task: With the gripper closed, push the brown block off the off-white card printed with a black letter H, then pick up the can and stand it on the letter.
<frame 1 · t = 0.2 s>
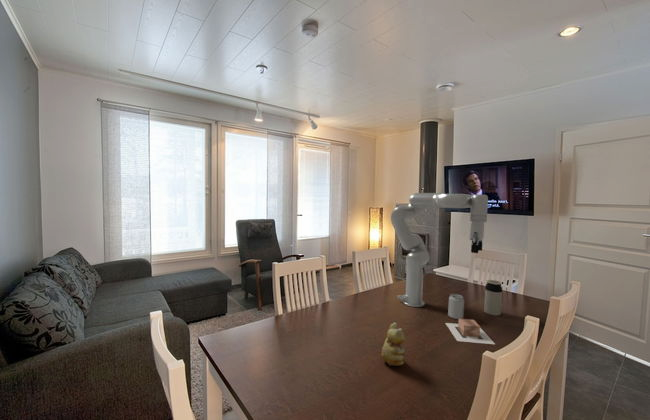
hand: (476, 251, 145), 37 cm above the table, tool pointing down, fingers open, 9 cm apart
can: (455, 317, 151), on the table
decorative figurine: (391, 363, 108), on the table
brown block: (468, 332, 133), resting on letter card
travel mug: (492, 313, 158), on the table
letter card: (468, 333, 133), on the table
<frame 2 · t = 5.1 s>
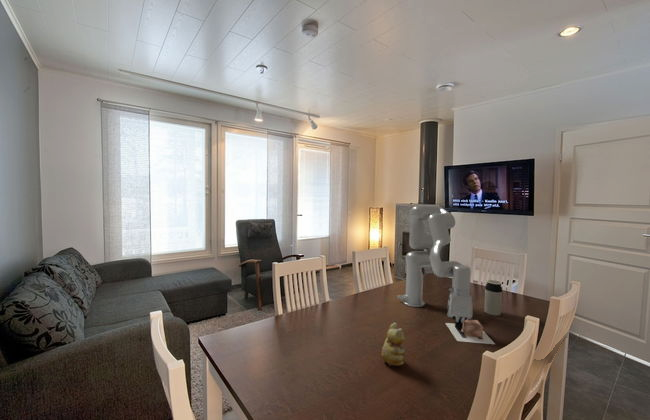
hand: (458, 329, 133), 2 cm above the table, tool pointing down, fingers closed
brown block: (471, 333, 133), resting on letter card, touching gripper
everything else where it was.
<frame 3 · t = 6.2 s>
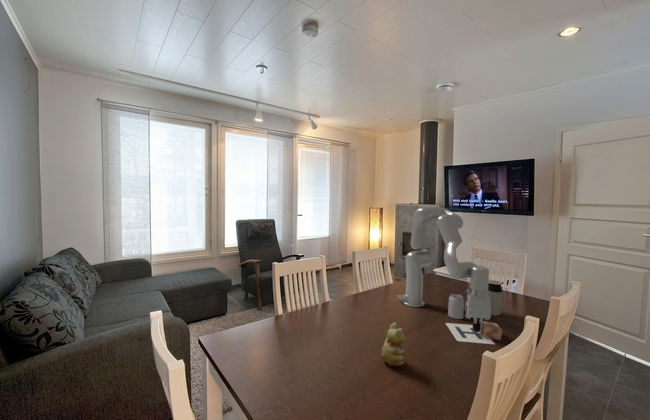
hand: (476, 330, 132), 2 cm above the table, tool pointing down, fingers closed
brown block: (489, 335, 131), on the table, tilted 5°, touching gripper, letter card
everything else where it was.
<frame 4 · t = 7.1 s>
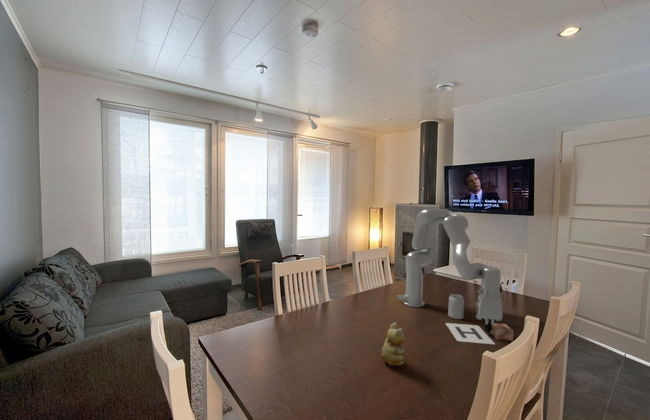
hand: (487, 331, 132), 2 cm above the table, tool pointing down, fingers closed
brown block: (500, 337, 131), on the table, touching gripper
everything else where it was.
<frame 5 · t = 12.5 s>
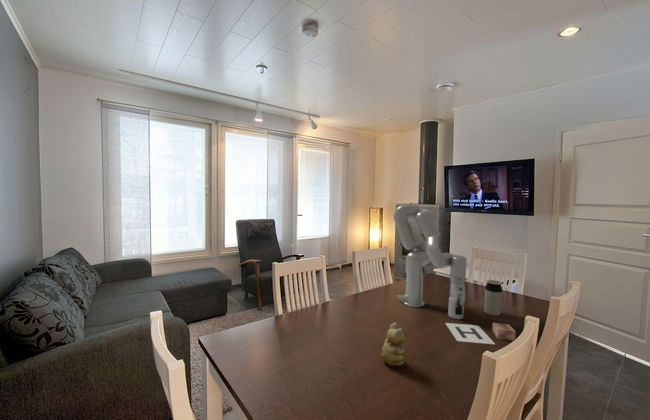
hand: (455, 311, 151), 3 cm above the table, tool pointing down, fingers closed on can, 7 cm apart
can: (455, 317, 151), on the table, touching gripper
brown block: (503, 337, 131), on the table
everything else where it was.
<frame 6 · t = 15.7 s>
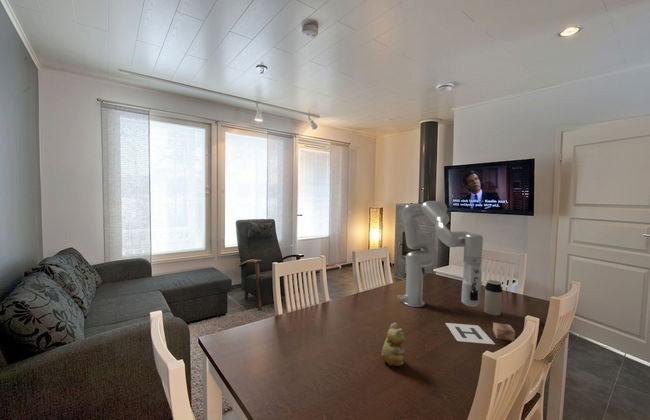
hand: (470, 297, 132), 18 cm above the table, tool pointing down, fingers closed on can, 7 cm apart
can: (469, 304, 132), point 14 cm above the table, touching gripper
everything else where it was.
when the fingers open (5 cm above the table, at t = 18.6 s): can drops 1 cm, resting on letter card.
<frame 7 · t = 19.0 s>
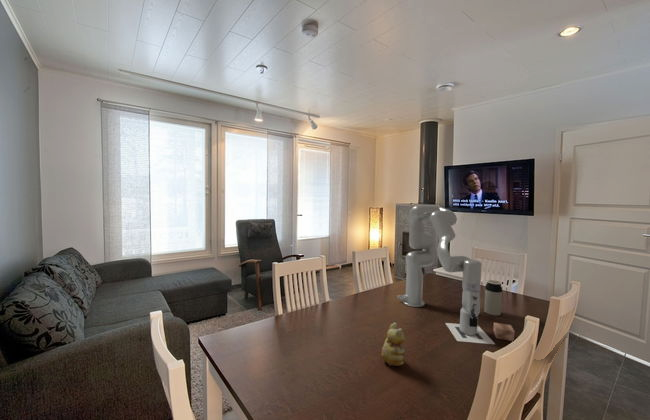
hand: (469, 321, 133), 6 cm above the table, tool pointing down, fingers open, 9 cm apart
can: (468, 332, 133), resting on letter card
everything else where it was.
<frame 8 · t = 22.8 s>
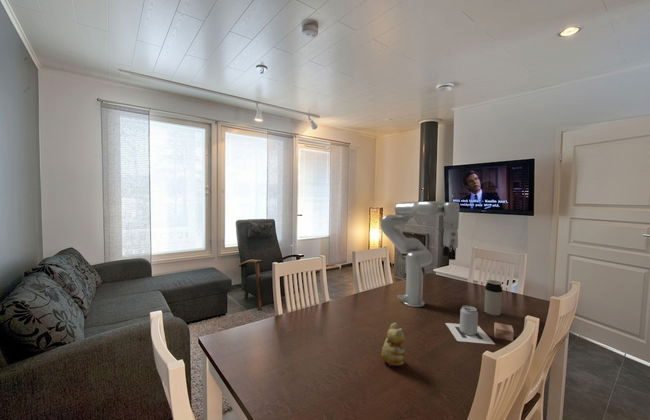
hand: (448, 257, 150), 32 cm above the table, tool pointing down, fingers open, 9 cm apart
nothing on the table moved.
at the end: brown block touching table; can inside the target area on the letter card (0.2 cm from its centre), point 0.2 cm above the letter card's base; can tilted 0° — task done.
